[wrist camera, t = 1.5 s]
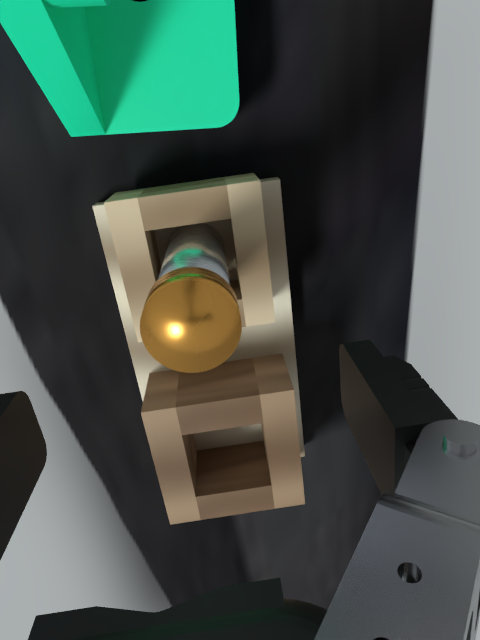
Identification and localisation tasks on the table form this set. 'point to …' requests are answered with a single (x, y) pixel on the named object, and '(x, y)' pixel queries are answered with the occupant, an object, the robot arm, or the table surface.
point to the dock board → (232, 375)
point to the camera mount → (130, 61)
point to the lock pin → (192, 304)
